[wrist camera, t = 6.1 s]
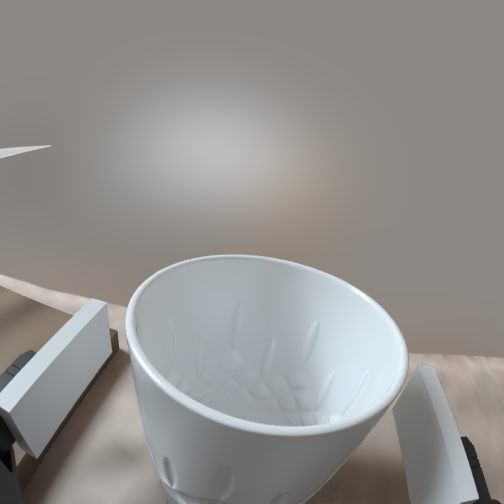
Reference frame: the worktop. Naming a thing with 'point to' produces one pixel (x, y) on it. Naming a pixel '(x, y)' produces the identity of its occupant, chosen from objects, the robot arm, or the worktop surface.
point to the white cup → (257, 376)
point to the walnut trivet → (34, 338)
